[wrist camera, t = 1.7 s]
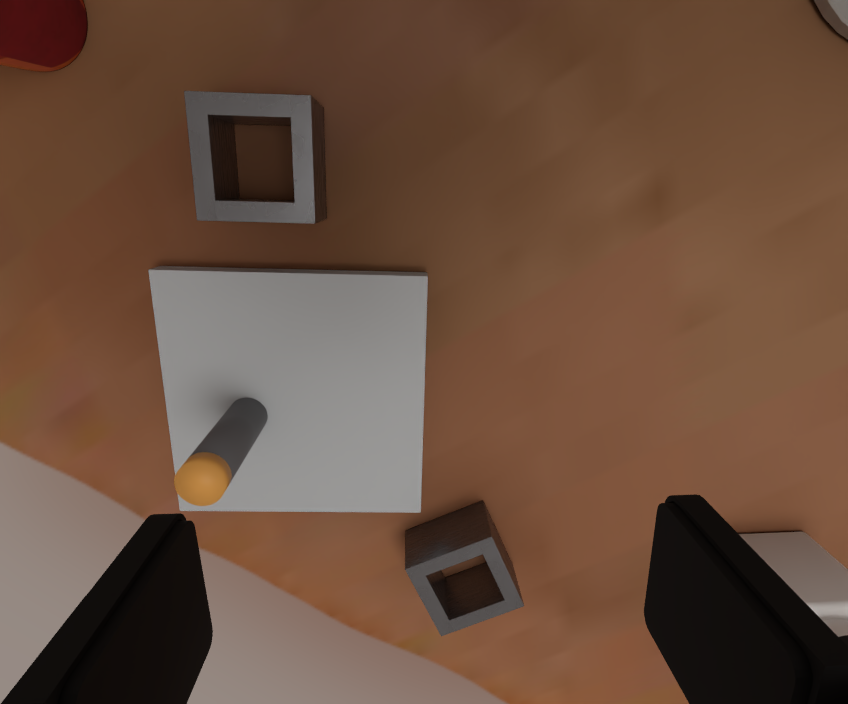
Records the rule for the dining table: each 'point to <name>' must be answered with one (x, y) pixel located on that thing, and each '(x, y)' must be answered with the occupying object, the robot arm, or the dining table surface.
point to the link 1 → (218, 162)
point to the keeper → (293, 387)
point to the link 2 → (468, 590)
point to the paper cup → (41, 33)
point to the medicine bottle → (808, 574)
